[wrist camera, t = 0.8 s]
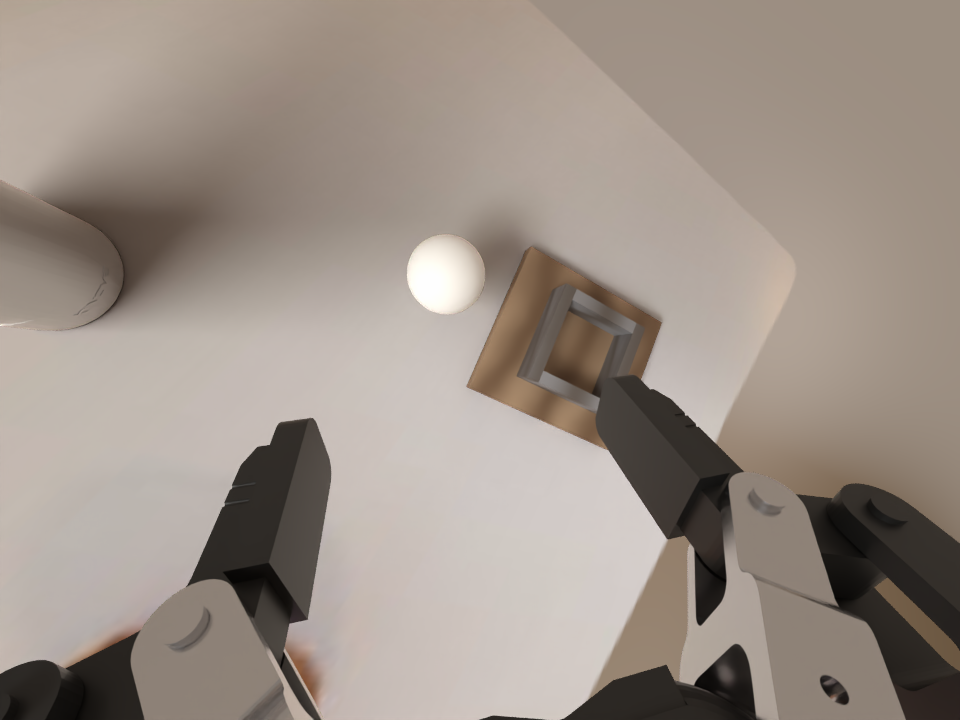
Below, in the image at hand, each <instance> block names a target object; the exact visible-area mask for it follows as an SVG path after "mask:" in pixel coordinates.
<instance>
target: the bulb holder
mask: <svg viewBox="0 0 960 720" xmlns="http://www.w3.org/2000/svg"><path fill="white" fill-rule="evenodd" d="M661 324H662V322H660V321H658V320H656V319H655V318H653V317H651V316H650V315H648V314H646V313H644V312H643V311H641V310H639V309H638V308H636V307H634V306H632V305H631V304H629V303H627V302H626V301H624V300H622V299H620V298H619V297H617V296H615V295H614V294H612V293H610V292H608V291H607V290H605V289H603V288H602V287H600V286H598V285H596V284H595V283H593V282H591V281H590V280H588V279H586V278H584V277H583V276H581V275H579V274H578V273H576V272H574V271H572V270H571V269H569V268H567V267H566V266H564V265H562V264H560V263H559V262H557V261H555V260H554V259H552V258H550V257H549V256H547V255H545V254H543V253H542V252H540V251H538V250H537V249H535V248H533V247H530V248H529V249H528V250H526V251H525V254H524V256H523V258H522V260H521V263H520V265H519V267H518V270H517V272H516V274H515V277H514V279H513V281H512V283H511V286H510V288H509V290H508V293H507V295H506V297H505V299H504V302H503V304H502V306H501V309H500V311H499V313H498V315H497V318H496V320H495V322H494V325H493V327H492V329H491V332H490V334H489V336H488V338H487V341H486V343H485V345H484V348H483V350H482V352H481V354H480V357H479V359H478V361H477V364H476V366H475V368H474V371H473V373H472V375H471V377H470V380H469V382H468V384H467V387H468V388H470V389H472V390H475V391H477V392H479V393H481V394H483V395H486V396H488V397H490V398H492V399H495V400H497V401H499V402H501V403H504V404H506V405H508V406H510V407H512V408H515V409H517V410H519V411H521V412H524V413H526V414H528V415H530V416H533V417H535V418H537V419H539V420H541V421H544V422H546V423H548V424H550V425H553V426H555V427H557V428H559V429H562V430H564V431H566V432H568V433H570V434H573V435H575V436H577V437H579V438H582V439H584V440H586V441H588V442H591V443H593V444H595V445H597V446H599V447H602V448H604V449H606V450H608V449H607V447H606V446H605V444H604V443H603V441H602V440H601V438H600V436H599V434H598V432H597V428H596V421H595V419H596V413H597V409H598V405H599V401H600V396H601V392H602V388H603V384H604V381H605V380H606V379H607V378H609V377H616V376H624V375H631V374H633V375H636V376H637V377H638V378H639V379H640V380H641V378H642V375H643V372H644V370H645V367H646V364H647V362H648V359H649V356H650V353H651V351H652V348H653V345H654V343H655V340H656V337H657V334H658V332H659V329H660V326H661Z"/></svg>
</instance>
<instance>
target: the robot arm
mask: <svg viewBox="0 0 960 720" xmlns="http://www.w3.org/2000/svg"><path fill="white" fill-rule="evenodd" d="M123 277H124V273H123V264H122V261H121V258H120V256H119V253H118V251H117V250H116V248H115V247H114V245H113V244H112V242H111V241H110V240H109V239H108V238H107V237H106V236H105V235H104V234H103V233H102V232H101V231H100V230H98V229H97V228H95V227H94V226H92V225H90V224H89V223H87V222H85V221H83V220H81V219H79V218H77V217H75V216H73V215H71V214H69V213H67V212H65V211H63V210H61V209H59V208H57V207H54V206H52V205H50V204H48V203H46V202H45V201H43V200H41V199H39V198H37V197H35V196H33V195H31V194H29V193H27V192H24V191H22V190H20V189H18V188H16V187H14V186H12V185H10V184H8V183H6V182H4V181H2V180H0V326H4V327H14V328H23V329H33V330H48V331H58V330H65V329H72V328H75V327H78V326H82V325H85V324H87V323H89V322H91V321H93V320H95V319H97V318H99V317H100V316H101V315H102V314H103V313H105V312H106V311H107V310H108V309H109V308H110V307H111V306H112V305H113V303H114V302H115V301H116V299H117V298H118V295H119V293H120V291H121V288H122V284H123ZM595 421H596V428H597V432H598V434H599V436H600V438H601V440H602V441H603V443H604V444H605V446H606V447H607V449H608V450H609V452H610V453H611V455H612V456H613V458H614V459H615V461H616V462H617V464H618V465H619V467H620V468H621V470H622V471H623V473H624V474H625V476H626V477H627V479H628V481H629V482H630V484H631V485H632V487H633V488H634V490H635V491H636V493H637V494H638V496H639V497H640V499H641V500H642V502H643V503H644V505H645V506H646V508H647V509H648V511H649V512H650V514H651V515H652V517H653V518H654V520H655V521H656V523H657V525H658V526H659V528H660V529H661V531H662V532H663V534H664V535H665V537H666V538H667V539H672V538H676V537H681V536H686V538H687V539H688V541H689V542H690V546H689V548H688V554H687V555H688V556H687V557H688V632H687V638H686V642H685V645H684V648H683V652H682V657H681V664H680V682H679V681H674V679H673V677H672V675H671V673H670V671H669V669H668V667H667V665H664V666H661V667H657V668H654V669H651V670H647V671H644V672H640V673H637V674H634V675H630V676H627V677H623V678H620V679H616V680H613V681H612V682H611V683H609V684H608V685H607V686H605V687H604V688H603V689H602V690H600V691H599V692H598V693H597V694H595V695H594V696H593V697H591V698H590V699H589V700H588V701H586V702H585V703H584V704H583V705H581V706H580V707H579V708H577V709H576V710H575V711H574V712H572V713H571V714H570V715H569V716H567V717H566V718H564V719H561V720H960V671H958V670H957V669H955V668H954V667H952V666H951V665H950V664H948V663H947V662H946V661H945V660H944V659H943V658H942V657H941V656H940V655H939V654H938V653H937V652H936V651H935V650H934V649H933V648H932V647H931V646H930V645H929V644H928V643H927V642H926V641H925V640H924V639H923V637H922V636H921V635H920V634H919V633H918V632H917V631H916V630H915V629H914V628H913V627H912V626H911V625H910V624H909V623H908V622H907V621H906V620H905V619H904V618H903V617H902V616H901V615H900V614H899V613H898V612H897V611H896V610H895V609H894V608H893V607H892V606H891V605H890V604H889V603H888V602H887V601H886V600H885V599H884V598H883V597H882V595H881V594H880V593H879V592H878V591H877V590H876V589H875V588H874V587H875V586H877V585H878V584H879V583H881V582H882V581H883V580H884V579H886V578H887V577H888V578H889V579H890V580H891V581H892V582H893V583H894V584H895V585H896V586H897V587H898V588H899V589H900V590H901V591H902V592H904V594H905V595H906V596H907V597H909V599H910V600H912V601H913V602H914V603H915V604H916V605H917V606H918V607H919V608H920V609H921V610H922V611H923V612H924V613H925V614H926V615H927V616H928V617H929V618H930V619H931V620H932V621H933V622H934V623H935V624H936V625H937V626H938V627H939V628H940V629H941V630H942V631H944V633H945V634H946V635H948V636H949V638H951V640H952V641H953V642H954V643H955V644H956V645H957V647H958V648H959V650H960V543H958V542H957V541H956V540H955V539H953V538H952V537H951V536H949V535H948V534H947V533H945V532H944V531H943V530H942V529H940V528H939V527H938V526H937V525H935V524H934V523H933V522H931V521H930V520H929V519H928V518H926V517H925V516H924V515H923V514H921V513H920V512H919V511H917V510H916V509H915V508H914V507H912V506H911V505H909V504H908V503H906V502H905V501H903V500H902V499H900V498H898V497H896V496H895V495H893V494H891V493H889V492H886V491H884V490H881V489H879V488H876V487H873V486H869V485H864V484H848V485H846V486H844V487H843V488H842V489H841V490H840V491H839V492H838V493H837V494H836V495H835V497H834V498H824V497H815V496H806V495H797V494H794V493H793V492H792V491H791V490H790V489H789V488H787V487H786V486H784V485H783V484H781V483H780V482H778V481H776V480H774V479H772V478H770V477H767V476H764V475H761V474H757V473H752V472H744V471H743V470H742V469H741V468H740V467H739V466H738V465H737V464H736V463H735V462H734V461H733V460H732V459H731V458H730V457H728V455H726V453H725V452H724V451H722V449H721V448H719V446H718V445H717V444H715V443H714V442H713V441H712V440H711V439H710V438H709V437H708V436H707V435H706V434H705V433H704V432H703V431H702V430H701V429H700V428H699V427H696V424H695V423H694V422H693V421H692V420H691V419H690V418H689V417H688V416H685V413H684V412H683V411H682V410H681V409H680V408H679V407H678V406H677V405H676V404H675V403H674V402H673V401H672V400H671V399H670V398H668V397H666V396H664V395H663V394H661V393H659V392H658V391H656V390H654V389H651V390H650V389H649V388H648V387H647V386H646V385H645V384H644V383H643V382H642V381H641V380H640V379H639V378H638V377H637V376H636V375H633V374H631V375H624V376H616V377H609V378H607V379H606V380H605V381H604V384H603V388H602V392H601V396H600V401H599V405H598V409H597V413H596V419H595ZM330 483H331V465H330V460H329V456H328V453H327V451H326V448H325V445H324V443H323V440H322V437H321V434H320V432H319V429H318V426H317V424H316V422H315V420H314V419H313V418H308V419H301V420H294V421H286V422H281V423H279V424H278V425H277V427H276V430H275V433H274V435H273V438H272V441H271V443H270V445H267V446H260V447H257V448H256V449H255V450H254V451H253V452H252V454H251V455H250V456H249V457H248V458H247V459H246V460H245V461H244V462H243V463H242V465H241V466H240V468H239V471H238V473H237V475H236V477H235V480H234V482H233V484H232V489H231V490H230V491H229V493H228V496H227V498H226V500H225V502H224V503H225V506H224V507H222V509H221V512H220V514H219V516H218V518H217V521H216V523H215V525H214V528H213V530H212V532H211V534H210V537H209V539H208V541H207V544H206V546H205V548H204V550H203V553H202V555H201V557H200V560H199V562H198V564H197V566H196V569H195V571H194V573H193V576H192V578H191V580H190V581H189V583H188V585H187V586H186V588H184V589H182V590H180V591H179V592H177V593H176V594H174V595H173V596H172V597H170V598H169V599H168V600H166V601H165V602H164V603H163V604H162V605H161V606H160V607H159V608H158V609H157V610H156V611H155V612H154V613H153V614H152V615H151V616H150V618H149V619H148V620H147V622H146V623H145V624H144V626H143V627H142V629H141V630H140V631H139V632H137V633H135V634H133V635H131V636H130V637H128V638H126V639H124V640H122V641H120V642H118V643H116V644H114V645H112V646H110V647H108V648H106V649H104V650H102V651H100V652H98V653H96V654H94V655H92V656H90V657H88V658H86V659H84V660H82V661H80V662H78V663H76V664H74V665H72V666H70V667H68V668H66V669H65V668H63V667H61V666H59V665H57V664H55V663H53V662H50V661H46V660H36V661H31V662H27V663H24V664H21V665H18V666H16V667H13V668H11V669H9V670H7V671H5V672H3V673H1V674H0V720H325V719H324V718H323V716H322V714H321V712H320V710H319V709H318V707H317V705H316V703H315V701H314V700H313V698H312V696H311V694H310V692H309V691H308V689H307V687H306V685H305V684H304V682H303V680H302V678H301V676H300V675H299V673H298V671H297V669H296V667H295V666H294V664H293V662H292V660H291V658H290V657H289V655H288V653H287V651H286V650H285V648H284V647H285V642H286V637H287V632H288V627H289V624H290V623H294V622H299V621H303V620H308V614H309V608H310V602H311V596H312V590H313V584H314V578H315V572H316V566H317V560H318V554H319V548H320V542H321V536H322V531H323V525H324V519H325V513H326V507H327V501H328V495H329V489H330ZM480 720H543V719H530V718H517V717H504V716H490V717H487V718H483V719H480Z"/></svg>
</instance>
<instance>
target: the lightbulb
mask: <svg viewBox="0 0 960 720" xmlns="http://www.w3.org/2000/svg"><path fill="white" fill-rule="evenodd" d="M407 280H408V285H409V288H410V290H411V292H412V294H413V295H414V297H415V298H416V300H417V301H418V302H419V303H420V304H421V305H422V306H424V307H425V308H427V309H428V310H431V311H433V312H435V313H439V314H455V313H459V312H462V311H464V310H466V309H467V308H469V307H470V306H472V305H473V304H474V303H475V302H476V301H477V299H478V298H479V296H480V295H481V292H482V290H483V287H484V283H485V268H484V263H483V260H482V258H481V255H480V254H479V252H478V251H477V249H476V248H475V247H474V246H473V245H472V244H471V243H469V242H468V241H467V240H465V239H463V238H461V237H459V236H455V235H450V234H441V235H435V236H432V237H429V238H428V239H426V240H424V241H423V242H421V243H420V244H419V245H418V246H417V247H416V248H415V250H414V251H413V253H412V254H411V257H410V259H409V262H408V267H407Z"/></svg>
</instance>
